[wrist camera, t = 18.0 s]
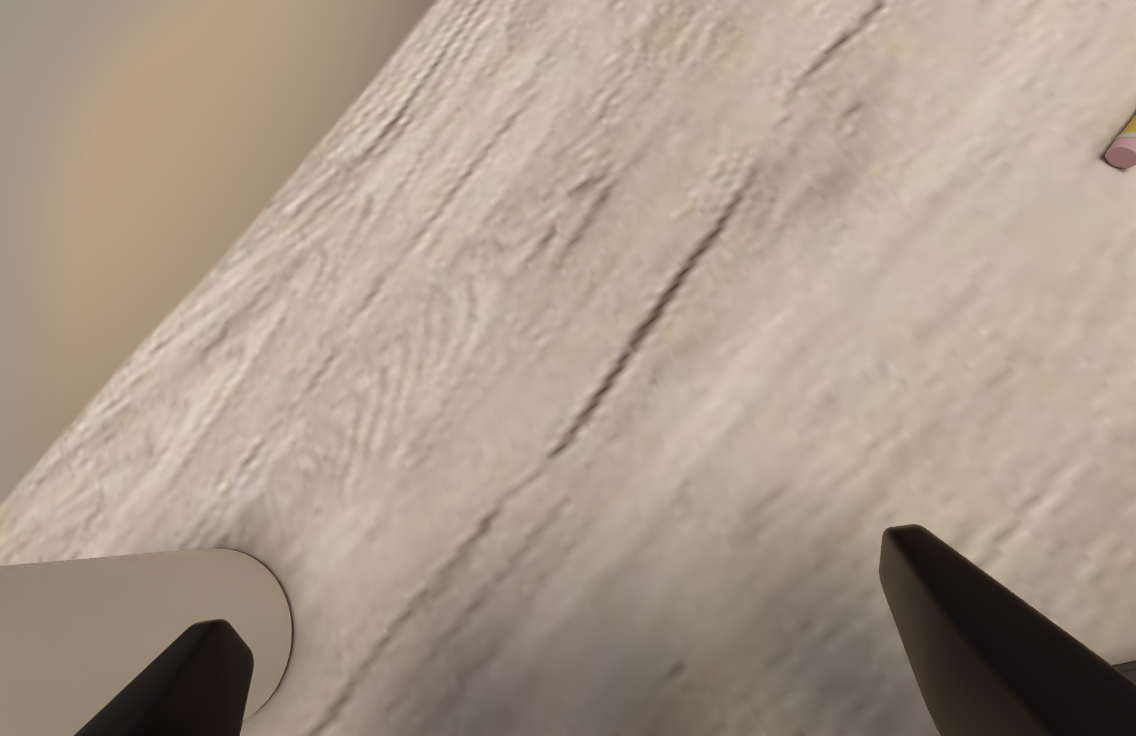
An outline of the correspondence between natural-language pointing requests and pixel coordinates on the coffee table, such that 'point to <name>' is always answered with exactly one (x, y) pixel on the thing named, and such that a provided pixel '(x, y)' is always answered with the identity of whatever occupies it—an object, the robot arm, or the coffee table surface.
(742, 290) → the coffee table surface
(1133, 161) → the pencil
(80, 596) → the mug
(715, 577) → the coffee table surface
